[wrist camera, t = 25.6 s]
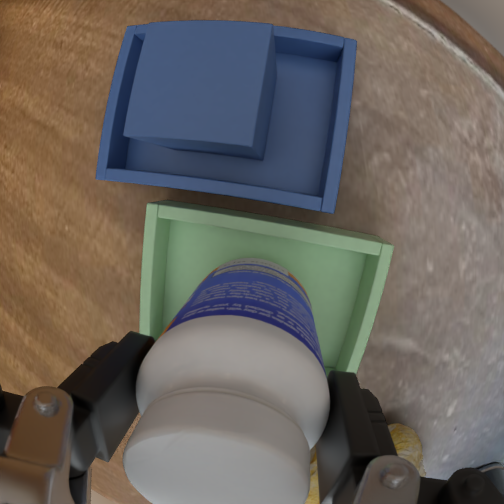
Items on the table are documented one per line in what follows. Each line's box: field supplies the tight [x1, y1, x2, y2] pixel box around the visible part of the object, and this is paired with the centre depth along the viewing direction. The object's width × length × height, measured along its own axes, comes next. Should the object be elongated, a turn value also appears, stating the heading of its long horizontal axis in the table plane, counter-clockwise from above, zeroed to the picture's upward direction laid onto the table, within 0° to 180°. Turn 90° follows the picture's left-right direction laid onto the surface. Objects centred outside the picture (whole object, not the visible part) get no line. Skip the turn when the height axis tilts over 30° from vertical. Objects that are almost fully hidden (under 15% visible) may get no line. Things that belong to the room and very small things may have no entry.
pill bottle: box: [123, 258, 330, 504], centre depth 10 cm, size 5×5×10 cm
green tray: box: [139, 200, 394, 376], centre depth 15 cm, size 11×8×2 cm
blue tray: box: [96, 24, 357, 214], centre depth 14 cm, size 11×8×2 cm
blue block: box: [123, 20, 277, 161], centre depth 12 cm, size 4×4×6 cm
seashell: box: [304, 423, 426, 504], centre depth 16 cm, size 10×6×15 cm
